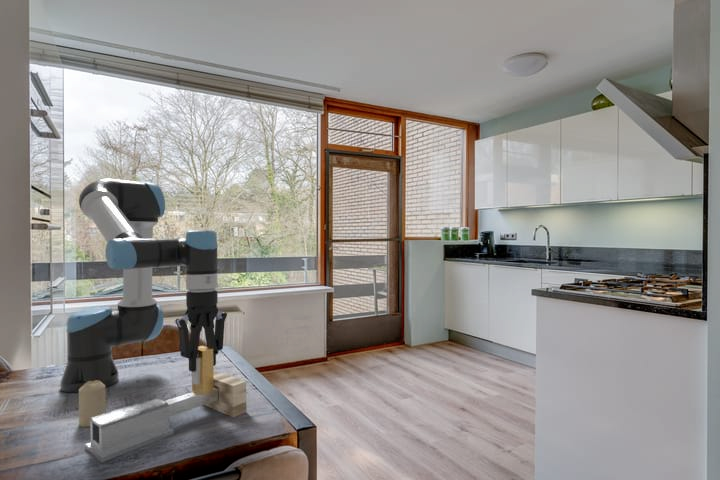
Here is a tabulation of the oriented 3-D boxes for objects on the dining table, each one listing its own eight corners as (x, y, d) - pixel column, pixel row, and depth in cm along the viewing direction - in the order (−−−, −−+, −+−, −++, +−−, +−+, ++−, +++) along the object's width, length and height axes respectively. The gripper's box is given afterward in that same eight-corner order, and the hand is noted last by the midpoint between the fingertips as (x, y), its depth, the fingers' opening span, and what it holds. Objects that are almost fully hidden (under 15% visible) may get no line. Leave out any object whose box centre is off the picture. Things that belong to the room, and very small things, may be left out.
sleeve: (85, 448, 88) (84, 416, 88) (155, 423, 100) (155, 395, 100) (102, 462, 82) (101, 428, 82) (174, 434, 94) (173, 404, 94)
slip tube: (133, 422, 94) (132, 361, 94) (219, 392, 112) (219, 341, 112) (143, 428, 91) (142, 365, 91) (230, 396, 109) (230, 344, 109)
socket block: (198, 402, 113) (198, 373, 113) (211, 397, 116) (211, 369, 116) (233, 417, 103) (232, 385, 103) (246, 412, 106) (246, 381, 106)
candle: (85, 429, 97) (85, 387, 97) (74, 423, 100) (74, 383, 100) (110, 420, 102) (109, 380, 102) (98, 415, 105) (98, 376, 105)
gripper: (179, 294, 96) (180, 394, 96) (237, 288, 109) (238, 375, 109) (163, 292, 101) (164, 387, 101) (221, 286, 114) (221, 370, 114)
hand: (202, 381), depth 105 cm, fingers closed on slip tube, 3 cm apart
